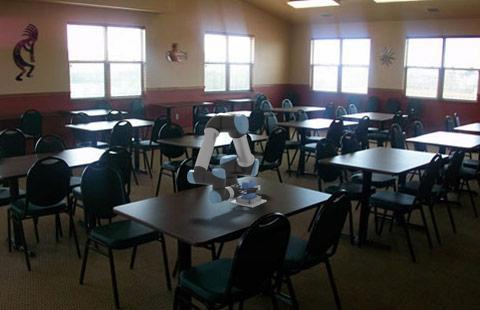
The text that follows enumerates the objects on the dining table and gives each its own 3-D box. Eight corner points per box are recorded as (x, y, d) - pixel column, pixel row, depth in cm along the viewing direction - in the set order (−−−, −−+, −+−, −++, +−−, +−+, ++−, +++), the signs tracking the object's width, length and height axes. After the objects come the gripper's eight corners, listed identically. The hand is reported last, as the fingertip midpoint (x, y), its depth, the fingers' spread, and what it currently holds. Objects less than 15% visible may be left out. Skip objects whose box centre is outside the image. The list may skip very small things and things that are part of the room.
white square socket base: (244, 197, 315) (244, 192, 314) (266, 201, 306) (266, 196, 306) (230, 203, 302) (230, 197, 301) (252, 207, 293) (252, 201, 292)
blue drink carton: (248, 199, 308) (249, 178, 306) (255, 200, 305) (255, 179, 303) (241, 201, 303) (241, 180, 300) (248, 202, 300) (248, 181, 297)
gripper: (215, 195, 296) (239, 189, 313) (244, 202, 282) (267, 195, 300) (215, 183, 295) (239, 177, 312) (244, 189, 281) (267, 182, 298)
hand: (253, 186), depth 306 cm, fingers open, 9 cm apart
